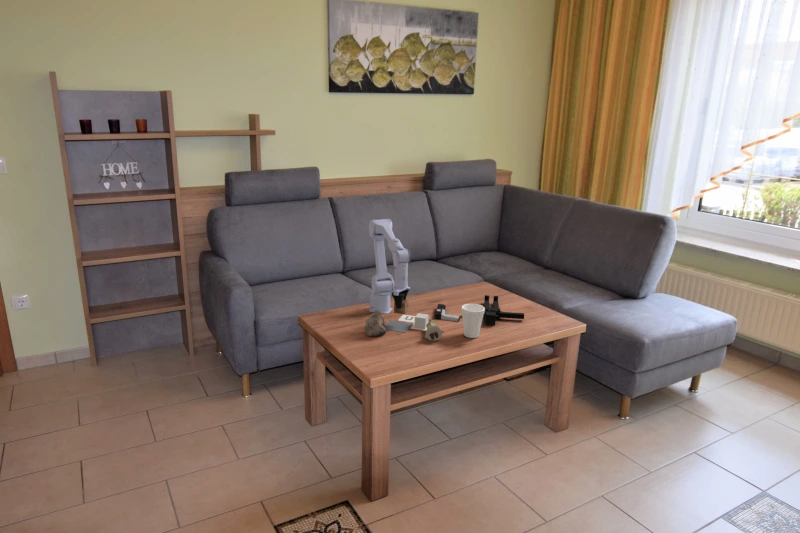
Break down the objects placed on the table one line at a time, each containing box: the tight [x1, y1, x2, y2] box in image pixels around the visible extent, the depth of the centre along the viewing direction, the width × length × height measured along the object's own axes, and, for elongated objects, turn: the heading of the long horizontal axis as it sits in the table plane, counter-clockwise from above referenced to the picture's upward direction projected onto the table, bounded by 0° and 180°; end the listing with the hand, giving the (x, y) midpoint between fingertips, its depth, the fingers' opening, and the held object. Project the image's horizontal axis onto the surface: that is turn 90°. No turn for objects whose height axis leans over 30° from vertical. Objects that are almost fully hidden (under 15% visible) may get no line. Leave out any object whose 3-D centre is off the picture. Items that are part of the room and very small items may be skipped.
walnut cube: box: [393, 299, 409, 315], centre depth 250 cm, size 5×5×5 cm
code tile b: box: [410, 323, 427, 332], centre depth 251 cm, size 8×8×1 cm
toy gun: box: [433, 303, 461, 323], centre depth 266 cm, size 3×16×12 cm
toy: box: [483, 294, 525, 326], centre depth 268 cm, size 28×6×30 cm
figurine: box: [424, 316, 445, 341], centre depth 241 cm, size 9×7×15 cm
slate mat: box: [385, 320, 413, 334], centre depth 250 cm, size 11×11×1 cm
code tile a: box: [397, 314, 416, 324], centre depth 260 cm, size 8×8×1 cm
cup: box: [461, 303, 485, 339], centre depth 241 cm, size 10×10×13 cm
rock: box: [364, 310, 387, 337], centre depth 241 cm, size 9×12×10 cm
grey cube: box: [414, 312, 430, 329], centre depth 250 cm, size 5×5×5 cm
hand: (400, 306), depth 250 cm, fingers closed on walnut cube, 5 cm apart
